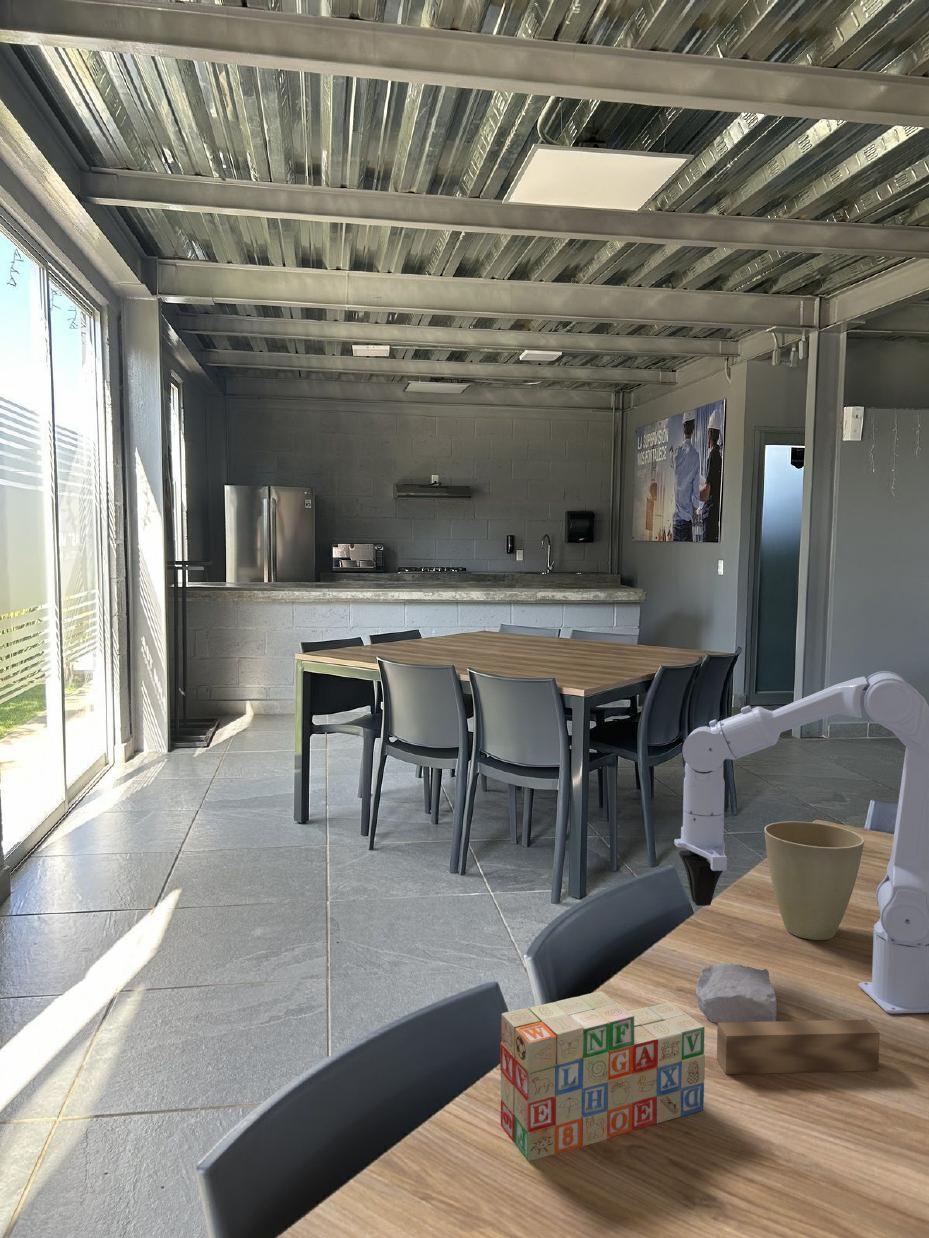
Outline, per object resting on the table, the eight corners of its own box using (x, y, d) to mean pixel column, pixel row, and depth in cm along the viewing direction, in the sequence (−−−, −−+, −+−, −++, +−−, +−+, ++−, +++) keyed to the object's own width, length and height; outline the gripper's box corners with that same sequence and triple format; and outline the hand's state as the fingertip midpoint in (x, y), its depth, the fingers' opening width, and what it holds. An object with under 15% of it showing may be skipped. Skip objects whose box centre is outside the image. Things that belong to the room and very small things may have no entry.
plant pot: (872, 954, 134) (876, 850, 133) (770, 946, 136) (772, 844, 135) (847, 916, 148) (850, 823, 147) (755, 910, 151) (757, 818, 150)
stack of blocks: (669, 1080, 100) (671, 974, 99) (704, 1111, 94) (707, 999, 94) (498, 1126, 92) (500, 1010, 91) (526, 1163, 86) (528, 1040, 85)
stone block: (703, 1038, 113) (784, 1031, 111) (696, 1000, 113) (777, 993, 111) (697, 997, 124) (771, 990, 122) (691, 963, 125) (764, 956, 123)
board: (865, 1056, 105) (866, 1019, 105) (878, 1070, 102) (879, 1032, 102) (716, 1059, 104) (717, 1022, 104) (725, 1074, 101) (726, 1035, 101)
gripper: (662, 798, 135) (660, 885, 135) (691, 825, 120) (689, 923, 121) (707, 797, 135) (705, 885, 136) (742, 824, 121) (740, 922, 121)
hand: (701, 903), depth 128 cm, fingers closed
